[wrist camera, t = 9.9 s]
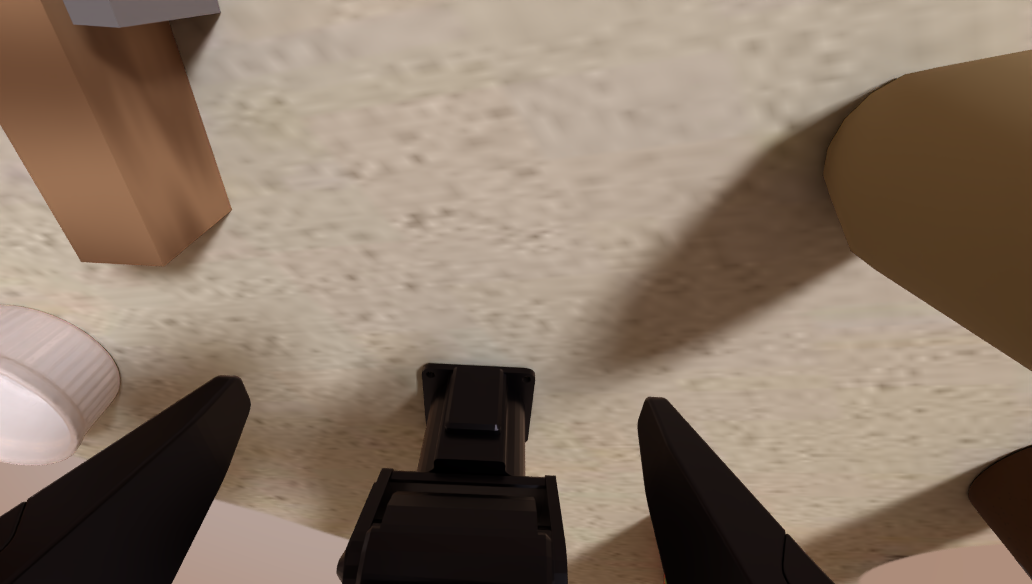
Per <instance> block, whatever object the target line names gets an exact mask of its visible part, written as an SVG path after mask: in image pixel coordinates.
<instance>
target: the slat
mask: <svg viewBox="0 0 1032 584" xmlns="http://www.w3.org/2000/svg"><path fill="white" fill-rule="evenodd" d="M0 125H1V126H2V128H3V130H4V131H5V133H6V135H7V137H8V138H9V140H10V142H11V143H12V145H13V147H14V148H15V150H16V152H17V154H18V155H19V157H20V159H21V160H22V162H23V164H24V165H25V167H26V169H27V171H28V172H29V174H30V176H31V177H32V179H33V181H34V182H35V184H36V186H37V188H38V189H39V191H40V193H41V194H42V196H43V198H44V199H45V201H46V203H47V205H48V206H49V208H50V210H51V211H52V213H53V215H54V216H55V218H56V220H57V222H58V223H59V225H60V227H61V228H62V230H63V232H64V233H65V235H66V237H67V239H68V240H69V242H70V244H71V245H72V247H73V249H74V250H75V252H76V254H77V255H78V257H79V259H80V261H81V262H92V263H111V264H129V265H148V266H165V265H166V264H168V263H169V262H170V261H171V260H172V259H174V258H175V257H176V256H177V255H178V254H180V253H181V252H182V251H183V250H184V249H186V248H187V247H188V246H189V245H190V244H192V243H193V242H194V241H195V240H196V239H198V238H199V237H200V236H201V235H202V234H204V233H205V232H206V231H207V230H208V229H209V228H211V227H212V226H213V225H214V224H215V223H217V222H218V221H219V220H220V219H221V218H223V217H224V216H225V215H226V214H227V213H229V212H230V211H231V210H232V208H231V205H230V203H229V200H228V197H227V194H226V191H225V188H224V185H223V182H222V179H221V176H220V173H219V170H218V167H217V164H216V161H215V158H214V155H213V152H212V149H211V146H210V143H209V140H208V137H207V134H206V131H205V128H204V125H203V122H202V119H201V116H200V113H199V110H198V107H197V104H196V101H195V98H194V95H193V92H192V89H191V86H190V83H189V80H188V77H187V74H186V71H185V68H184V65H183V62H182V59H181V56H180V53H179V50H178V47H177V44H176V41H175V38H174V35H173V32H172V29H171V26H170V23H169V20H168V21H162V22H155V23H148V24H141V25H135V26H128V27H121V28H116V27H102V26H87V25H73V22H72V20H71V18H70V16H69V13H68V11H67V9H66V7H65V4H64V2H63V0H0Z"/></svg>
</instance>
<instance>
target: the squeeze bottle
mask: <svg viewBox="0 0 1032 584" xmlns="http://www.w3.org/2000/svg"><path fill="white" fill-rule="evenodd" d="M823 176H824V180H825V183H826V186H827V189H828V192H829V195H830V198H831V201H832V203H833V206H834V208H835V211H836V214H837V216H838V219H839V221H840V224H841V227H842V229H843V232H844V235H845V237H846V240H847V242H848V245H849V248H850V250H851V251H852V252H853V253H854V254H855V255H857V256H858V257H859V258H861V259H862V260H863V261H865V262H866V263H867V264H869V265H870V266H871V267H872V268H874V269H875V270H877V271H878V272H880V273H881V274H883V275H884V276H886V277H887V278H889V279H890V280H892V281H894V282H895V283H897V284H898V285H900V286H901V287H903V288H904V289H906V290H907V291H909V292H911V293H912V294H914V295H915V296H917V297H918V298H920V299H921V300H923V301H924V302H926V303H927V304H929V305H931V306H932V307H934V308H935V309H937V310H938V311H940V312H941V313H943V314H944V315H946V316H947V317H949V318H951V319H952V320H954V321H955V322H957V323H958V324H960V325H961V326H963V327H964V328H966V329H967V330H969V331H971V332H972V333H974V334H975V335H977V336H978V337H980V338H981V339H983V340H984V341H986V342H988V343H989V344H991V345H992V346H994V347H995V348H997V349H998V350H1000V351H1001V352H1003V353H1004V354H1006V355H1008V356H1009V357H1011V358H1012V359H1014V360H1015V361H1017V362H1018V363H1020V364H1021V365H1023V366H1024V367H1026V368H1028V369H1029V370H1031V371H1032V50H1027V51H1022V52H1017V53H1011V54H1006V55H1001V56H995V57H990V58H985V59H980V60H974V61H969V62H964V63H958V64H953V65H948V66H943V67H938V68H933V69H928V70H924V71H919V72H914V73H910V74H905V75H903V76H901V77H899V78H898V79H896V80H894V81H892V82H890V83H889V84H887V85H885V86H883V87H882V88H880V89H878V90H876V91H874V92H873V93H871V94H870V95H869V96H868V97H867V98H866V99H865V100H864V101H863V102H862V103H861V104H860V105H859V106H858V107H857V108H856V109H855V110H854V111H853V112H851V113H850V114H849V115H848V116H847V117H846V118H845V119H844V121H843V123H842V124H841V126H840V128H839V129H838V131H837V133H836V135H835V136H834V138H833V140H832V141H831V143H830V145H829V147H828V149H827V154H826V160H825V166H824V171H823Z"/></svg>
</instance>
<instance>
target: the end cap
mask: <svg viewBox="0 0 1032 584" xmlns="http://www.w3.org/2000/svg"><path fill="white" fill-rule="evenodd" d="M63 2H64V4H65V7H66V9H67V11H68V13H69V16H70V18H71V20H72V22H73V25H87V26H102V27H116V28H121V27H128V26H135V25H141V24H148V23H155V22H162V21H168V20H175V19H182V18H188V17H195V16H202V15H209V14H215V13H221V12H220V8H219V5H218V1H217V0H63Z"/></svg>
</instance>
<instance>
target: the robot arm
mask: <svg viewBox="0 0 1032 584" xmlns="http://www.w3.org/2000/svg"><path fill="white" fill-rule="evenodd" d="M431 372H433V373H431ZM526 376H527V378H526ZM422 381H423V393H424V405H425V416H426V430H425V435H424V440H423V445H422V450H421V455H420V459H419V464H418V469H417V472H416V471H394V469H391V468H382V470H381V472H380V475H379V477H378V479H377V482H374V484H373V486H372V489H371V491H370V493H369V496H368V498H367V500H366V503H365V505H364V507H363V510H362V512H361V514H360V517H359V519H358V522H357V524H356V526H355V529H354V531H353V533H352V536H351V538H350V540H349V543H348V545H347V547H346V550H345V551H344V553H343V555H342V556H341V558H340V559H339V562H338V565H337V575H338V577H339V579H340V580H341V582H342V584H568V573H567V554H566V544H565V536H564V530H563V523H562V516H561V509H560V502H559V495H558V489H557V482H556V476H549V475H545V477H529V476H525V442H526V441H527V440H528V434H529V426H530V417H531V409H532V401H533V393H534V385H535V372H534V371H533V370H531V369H528V368H509V367H490V366H470V365H451V364H427V365H425V366H424V368H423V372H422ZM250 407H251V403H250V399H249V396H248V394H247V391H246V389H245V387H244V384H243V382H242V380H241V378H239V377H238V376H228V375H220V376H217V377H215V378H213V379H212V380H210V381H209V382H207V383H205V384H204V385H202V386H201V387H199V388H198V389H196V390H195V391H193V392H192V393H190V394H188V395H187V396H185V397H184V398H182V399H181V400H179V401H178V402H176V403H175V404H173V405H172V406H170V407H168V408H167V409H165V410H164V411H162V412H161V413H159V414H158V415H156V416H155V417H153V418H151V419H150V420H148V421H147V422H145V423H144V424H142V425H141V426H139V427H138V428H136V429H135V430H133V431H131V432H130V433H128V434H127V435H125V436H124V437H122V438H121V439H119V440H118V441H116V442H115V443H113V444H111V445H110V446H108V447H107V448H105V449H104V450H102V451H101V452H99V453H98V454H96V455H94V456H93V457H91V458H90V459H88V460H87V461H85V462H84V463H82V464H81V465H79V466H78V467H76V468H74V469H73V470H71V471H70V472H68V473H67V474H65V475H64V476H62V477H61V478H59V479H58V480H56V481H54V482H53V483H51V484H50V485H48V486H47V487H45V488H44V489H42V490H40V491H39V492H37V493H36V494H34V495H33V496H31V497H30V498H28V500H27V502H22V503H20V504H19V505H17V506H16V507H14V508H13V509H11V510H10V511H8V512H7V513H5V514H3V515H2V516H0V584H172V582H173V580H174V578H175V576H176V574H177V572H178V570H179V568H180V566H181V564H182V562H183V560H184V558H185V556H186V554H187V552H188V550H189V548H190V546H191V544H192V542H193V540H194V538H195V536H196V534H197V532H198V530H199V528H200V526H201V524H202V522H203V520H204V518H205V516H206V514H207V512H208V510H209V508H210V506H211V504H212V502H213V500H214V498H215V496H216V494H217V492H218V490H219V488H220V486H221V484H222V482H223V480H224V477H225V475H226V473H227V470H228V468H229V465H230V463H231V460H232V457H233V455H234V452H235V449H236V447H237V444H238V441H239V439H240V436H241V433H242V431H243V428H244V425H245V422H246V420H247V417H248V414H249V412H250ZM638 437H639V445H640V454H641V462H642V470H643V478H644V486H645V493H646V498H647V503H648V508H649V512H650V516H651V520H652V524H653V528H654V533H655V537H656V541H657V545H658V549H659V554H660V558H661V562H662V566H663V570H664V575H665V579H666V583H667V584H835V583H834V582H833V581H832V580H831V579H830V578H829V577H828V576H827V575H826V574H825V573H824V572H823V571H822V570H821V569H820V568H819V567H818V566H817V565H816V563H815V562H814V561H813V560H812V559H811V558H810V557H809V556H808V555H807V554H806V553H805V552H804V551H803V550H802V548H801V547H800V546H799V545H798V544H797V543H796V542H795V541H794V540H793V538H792V537H791V536H790V535H789V534H785V530H784V529H783V528H782V526H781V525H780V524H779V523H778V522H777V521H776V520H775V519H774V518H773V516H772V515H771V514H770V513H769V512H768V511H767V510H766V509H765V508H764V507H763V505H762V504H761V503H760V502H759V501H758V500H757V499H756V498H755V497H754V495H753V494H752V493H751V492H750V491H749V490H748V489H747V488H746V487H745V485H744V484H743V483H742V482H741V481H740V480H739V479H738V478H737V477H736V475H735V474H734V473H733V472H732V471H731V470H730V469H729V468H728V467H727V466H726V464H725V463H724V462H723V461H722V460H721V459H720V458H719V457H718V456H717V454H716V453H715V452H714V451H713V450H712V449H711V448H710V447H709V446H708V444H707V443H706V442H705V441H704V440H703V439H702V438H701V437H700V436H699V434H698V433H697V432H696V431H695V430H694V429H693V428H692V427H691V426H690V425H689V423H688V422H687V421H686V420H685V419H684V418H683V417H682V416H681V415H680V413H679V412H678V411H677V410H676V409H675V408H674V407H673V406H672V405H671V403H670V402H669V401H668V400H667V399H665V398H662V397H647V398H646V399H645V401H644V404H643V407H642V410H641V413H640V416H639V419H638Z"/></svg>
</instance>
